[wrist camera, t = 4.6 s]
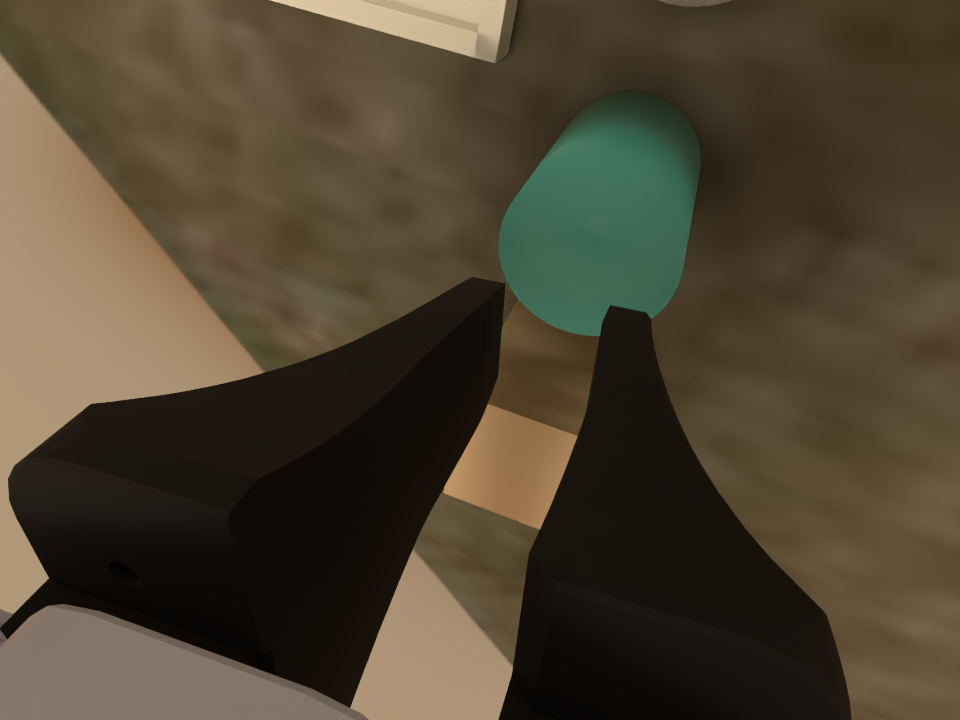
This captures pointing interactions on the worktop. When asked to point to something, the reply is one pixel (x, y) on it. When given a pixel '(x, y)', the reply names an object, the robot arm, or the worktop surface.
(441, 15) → the tray
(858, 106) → the worktop surface
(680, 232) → the cylinder
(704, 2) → the cylinder
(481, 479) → the oak block
